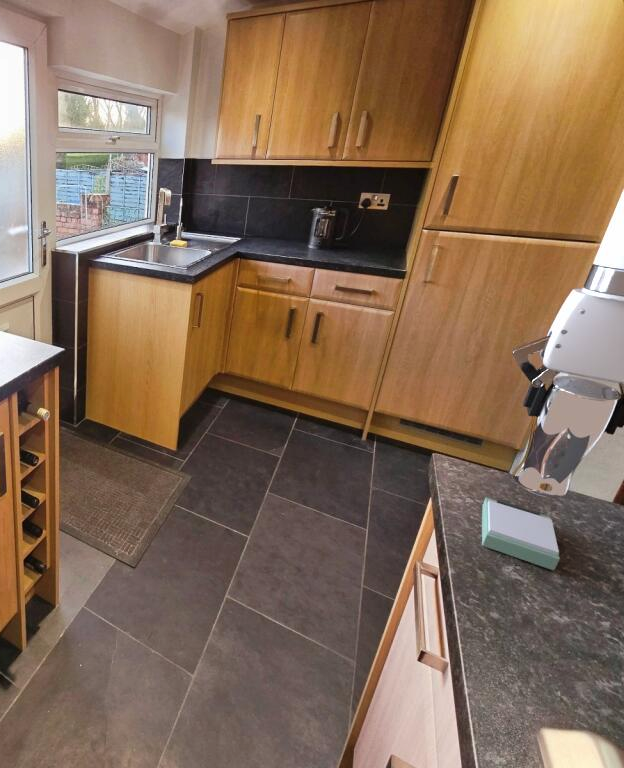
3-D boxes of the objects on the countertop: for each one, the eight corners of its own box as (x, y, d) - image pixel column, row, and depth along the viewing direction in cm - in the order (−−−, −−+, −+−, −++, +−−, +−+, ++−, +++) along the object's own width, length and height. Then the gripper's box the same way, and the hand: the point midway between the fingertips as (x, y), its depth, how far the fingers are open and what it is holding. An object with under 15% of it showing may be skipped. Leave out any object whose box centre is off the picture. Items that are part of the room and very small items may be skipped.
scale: (481, 507, 78) (487, 494, 77) (545, 527, 74) (552, 513, 73) (482, 545, 70) (488, 531, 69) (554, 571, 66) (561, 555, 65)
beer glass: (583, 493, 66) (637, 394, 60) (550, 506, 64) (602, 405, 57) (528, 464, 72) (571, 371, 65) (496, 475, 70) (537, 380, 63)
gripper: (725, 291, 56) (651, 430, 63) (532, 270, 65) (486, 394, 72) (753, 303, 50) (669, 454, 57) (537, 278, 59) (487, 412, 66)
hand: (568, 420), depth 64 cm, fingers closed on beer glass, 7 cm apart
